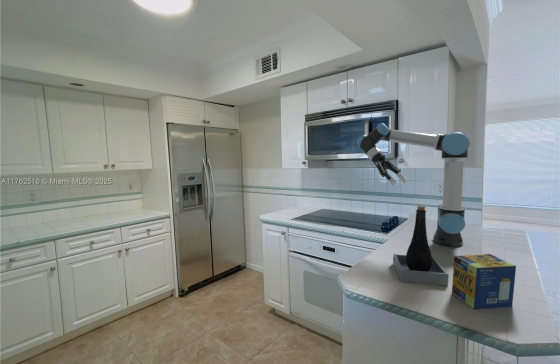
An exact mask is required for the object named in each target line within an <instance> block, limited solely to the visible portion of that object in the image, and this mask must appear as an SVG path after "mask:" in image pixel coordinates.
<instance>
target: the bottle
mask: <svg viewBox="0 0 560 364" xmlns="http://www.w3.org/2000/svg"><path fill="white" fill-rule="evenodd" d="M416 207H417V209H416V210H415V222H414V228H413V234H412V238H411V240H410V244H409V246H408V248H407V251H406V253H405V255H406V263H407V266H408V268H409V269H410V270H414V271H425V272H428V271H429V270H430V269H431V267H432V257H433V256H432V252H431V249H430V245H429V241H428V234H427V224H426V223H427V221H426V219H427V217H426V215H427V214H426V212H427V210H426V206H422V205H421V206H420V205H418V206H416Z"/></svg>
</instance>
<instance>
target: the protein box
mask: <svg viewBox="0 0 560 364" xmlns="http://www.w3.org/2000/svg"><path fill="white" fill-rule="evenodd" d="M516 270H517V265H516V264H513V263H511V262H509V261H506V260H505V259H501V258H499V257H497V256H495V255H493V254H490V253H488V254H487V253H484V254H468V255H467V254H466V255H454V256H453V270H452V271H453V272H452V284H451V285H452V286H451V294H452V295H454V297H456V298H457V299H458V300H460V301H461V302H463V303H464V304H466V305H467V307H470V308H471V309H472V310H481V309H482V310H483V309H484V310H485V309H495V308H498V309H499V308H508V307H509V308H511V307H513V303H514V302H513V301H514V292H515V291H514V290H515V281H516V272H517V271H516Z"/></svg>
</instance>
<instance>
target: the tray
mask: <svg viewBox="0 0 560 364" xmlns="http://www.w3.org/2000/svg"><path fill="white" fill-rule="evenodd" d="M392 255H393V258H392V264H393V267H394V268H395V269H396V270H395V271H396V274H397V277H398V279H399V282H404V283H411V284H423V285H433V286H434V285H435V286H443V287H445V286H446V287H448V286H449V273H448V271H446V270H445V269H444V267H443V266H442V265H441V264H440V262H439V261H438V260H437V259H436V258H435V256H432V267H431V269H430V270H429V271H428V272H425V271H414V270H410V269H409V268H408V266H407V263H406V254H397V253H394V254H392Z"/></svg>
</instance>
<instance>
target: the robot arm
mask: <svg viewBox="0 0 560 364" xmlns="http://www.w3.org/2000/svg"><path fill="white" fill-rule="evenodd" d="M380 141H385V142H392V143H399V144H406V145H410V146H411V145H412V146H419V147H424V148H430V149H431V148H432V149H434V151H440V152H441V160H443V162H444V164H443V165H444V167H443V169H444V170H443V189H442V204H438V205H437V206H438V207H437V219H436V220H437V222H436V224H437V226H436V230H435V232H434V234H433V239H432V241H433V243H436V244H437V245H441V246H447V247H453V248H454V247H462V246H464V240H463V237H462V234H461V232H462V231H464V229H465V226H466V220H465V208H464V207H463V205H462V204H463V203H462V202H463V200H462V199H463V183H464V161H466V160H467V159H468V155H469V147H470V145H471V143H470V139H469V137H468V136H467V135H466V134H464V133H463V132H460V131H459V132H458V131H455V132H450V133H445V134H444V133H438V134H431V133H430V134H429V133H423V132H422V133H421V132H415V131H414V132H413V131H406V130H401V129H400V130H398V129H390V128H389V127H388V125H386V124H385V123H384V122H380V123H379V124H378V125H377V126H376V127H374V128H373V130H371V131H370V132H369V134H362V135H361V136H359V137H358V138H357V140H356V144H357V145H358V147H359V148H360V149H361V150H362V152H363V153H364V154H365V155H366V156H367V158H368V159H370V161H371V162H372V163H373V164H374V165H375V167H376V168H377V170H378V172H379V174H380V175H381V177H382V178H385V179H386V180H387V181H388V182H389V183H390V184H391V186H394V185H395V184H397V180H396V179H395V178H394V177H393V176H392V175H391V174H390V173H388V171H387V170H389V171H390V172H392V173H394V174H395V175H396V177H397V178H398V179H399V180H400V181H401V182H402V183H403V184H405V183H406V182H407V181H408V179H407V177H406V176H405V175H404V174H403V173H402V170H401V168H399V167H397V166H396V165H395V164H394V163H393V162H391V161H390V160H389V159H388V160H386V159H385V158H386V155H385V154H384V153H383V152H382V151H381V150H380V149H379V148H378V146H376V145H377V144H378V143H380Z"/></svg>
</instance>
